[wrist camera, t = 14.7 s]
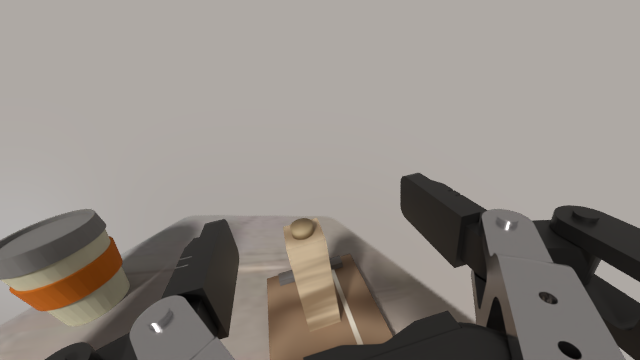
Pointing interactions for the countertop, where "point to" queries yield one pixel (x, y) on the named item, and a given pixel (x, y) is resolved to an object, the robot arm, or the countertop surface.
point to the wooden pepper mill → (312, 272)
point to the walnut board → (354, 329)
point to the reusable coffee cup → (65, 267)
